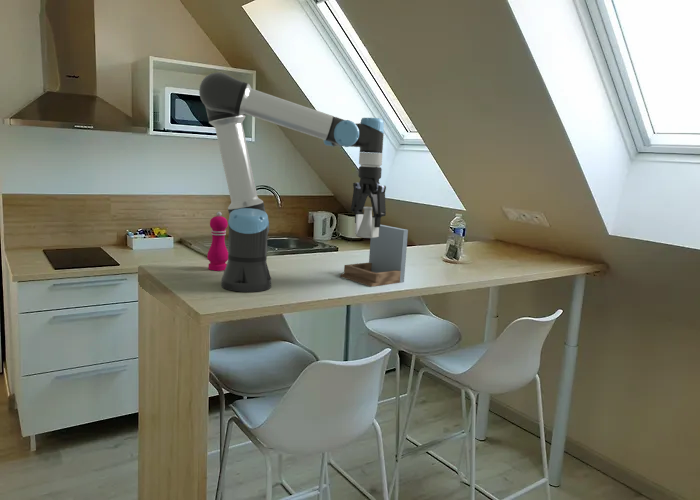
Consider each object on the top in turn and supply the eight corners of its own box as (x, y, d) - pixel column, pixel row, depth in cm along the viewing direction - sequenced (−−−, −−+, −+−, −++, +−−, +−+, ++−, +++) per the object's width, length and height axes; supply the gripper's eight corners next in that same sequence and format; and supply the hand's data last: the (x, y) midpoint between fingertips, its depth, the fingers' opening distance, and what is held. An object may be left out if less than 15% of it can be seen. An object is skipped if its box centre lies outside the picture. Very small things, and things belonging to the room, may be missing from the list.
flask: (360, 234, 199) (361, 205, 197) (380, 236, 196) (382, 207, 195) (352, 237, 192) (353, 207, 191) (372, 239, 190) (374, 208, 188)
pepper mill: (202, 268, 201) (204, 210, 197) (220, 266, 206) (222, 210, 203) (214, 272, 196) (215, 213, 193) (232, 270, 201) (234, 212, 198)
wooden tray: (371, 286, 189) (372, 274, 188) (340, 276, 201) (341, 265, 200) (399, 282, 197) (400, 271, 197) (368, 273, 209) (368, 262, 209)
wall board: (399, 282, 197) (403, 230, 194) (368, 273, 209) (371, 223, 206) (403, 282, 199) (408, 229, 196) (372, 272, 211) (375, 223, 208)
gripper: (400, 168, 185) (395, 239, 189) (358, 164, 200) (355, 230, 204) (382, 167, 180) (378, 240, 184) (342, 164, 196) (339, 231, 199)
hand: (366, 235), depth 194 cm, fingers closed on flask, 7 cm apart
